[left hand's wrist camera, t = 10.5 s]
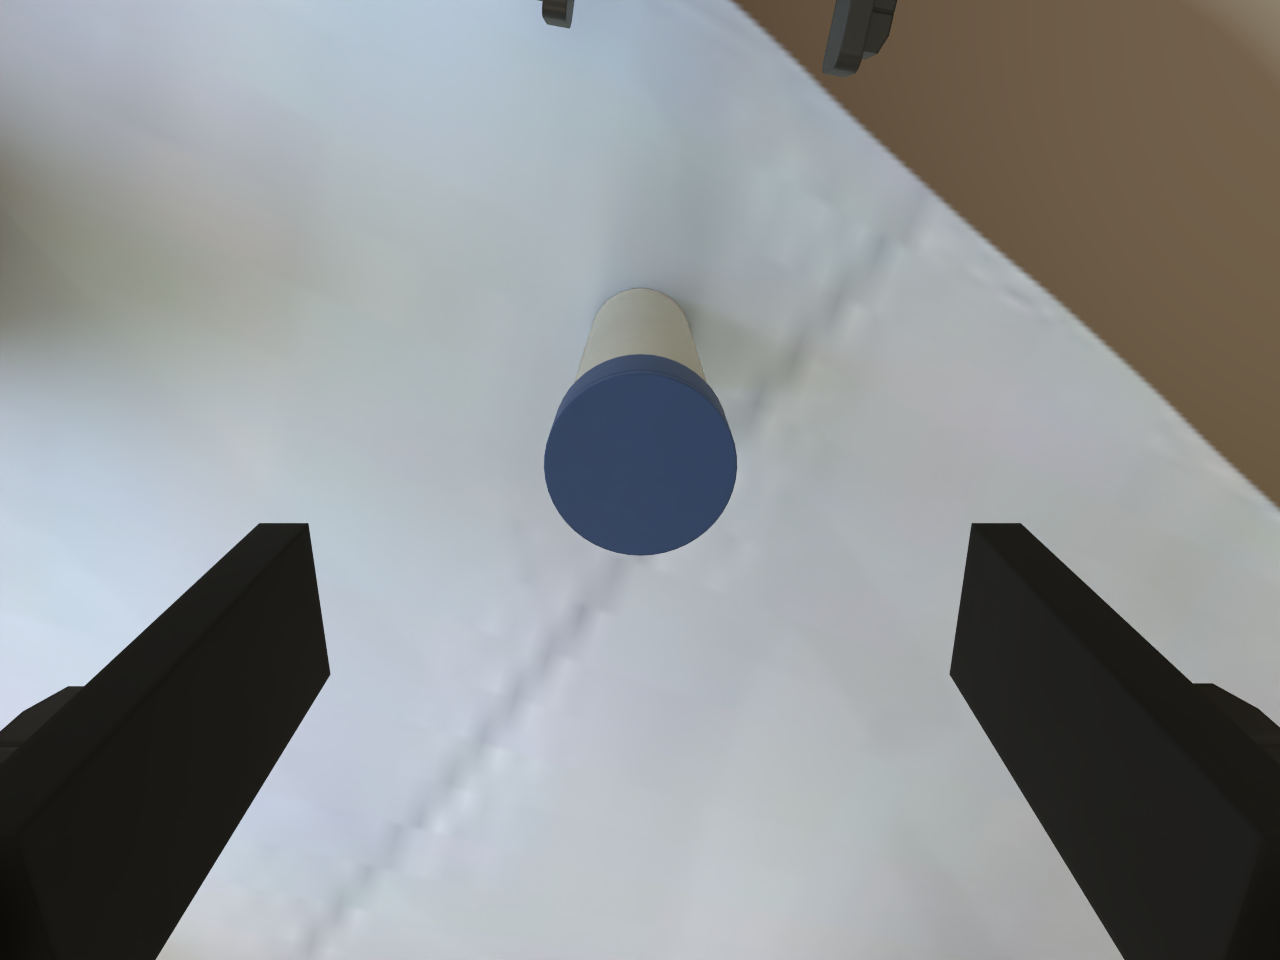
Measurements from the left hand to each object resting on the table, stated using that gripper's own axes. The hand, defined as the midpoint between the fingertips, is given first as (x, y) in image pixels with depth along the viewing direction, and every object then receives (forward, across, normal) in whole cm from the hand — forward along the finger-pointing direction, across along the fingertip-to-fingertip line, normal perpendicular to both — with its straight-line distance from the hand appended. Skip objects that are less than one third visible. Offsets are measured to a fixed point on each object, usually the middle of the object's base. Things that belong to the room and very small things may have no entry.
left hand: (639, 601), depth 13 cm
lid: (+7, 0, 0) cm, 7 cm away
